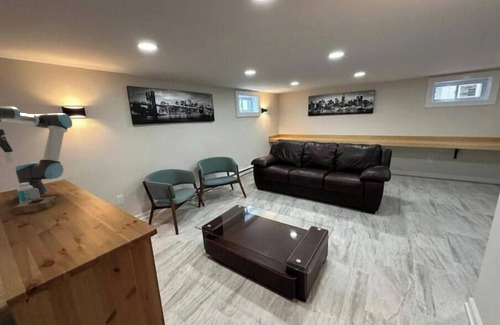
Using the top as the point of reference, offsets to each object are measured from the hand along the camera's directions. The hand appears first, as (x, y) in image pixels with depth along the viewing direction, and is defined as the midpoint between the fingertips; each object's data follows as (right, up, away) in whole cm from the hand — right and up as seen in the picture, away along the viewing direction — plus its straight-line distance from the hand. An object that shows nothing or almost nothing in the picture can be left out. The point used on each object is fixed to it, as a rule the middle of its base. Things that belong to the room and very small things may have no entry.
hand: (4, 164), depth 125 cm
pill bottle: (+3, -26, +11) cm, 28 cm away
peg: (+18, -27, +3) cm, 32 cm away
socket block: (+18, -27, +3) cm, 32 cm away
